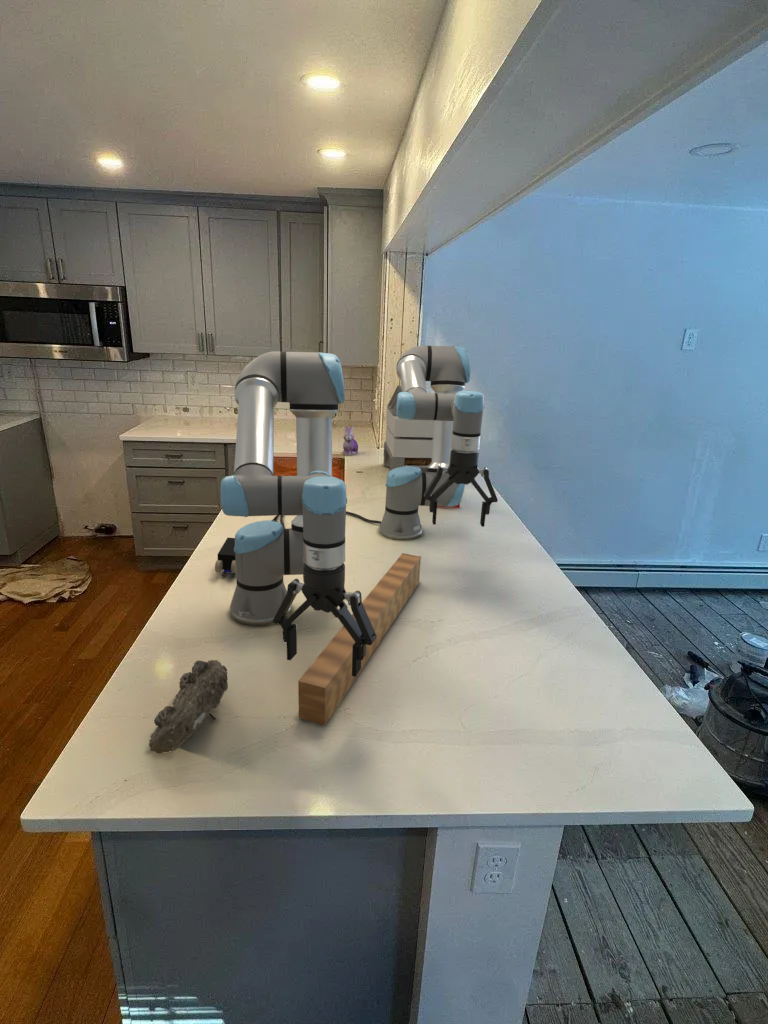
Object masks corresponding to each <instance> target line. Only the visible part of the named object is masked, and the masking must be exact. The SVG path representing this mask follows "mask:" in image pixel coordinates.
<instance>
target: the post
mask: <svg viewBox="0 0 768 1024" xmlns="http://www.w3.org/2000/svg"><path fill="white" fill-rule="evenodd" d="M421 560H422V556H421V555H415V554H409V553H405V552H402V553H401V554H400V556H398V558H397V559H396V560H395V562H394V563H393V564H392V565H391V566H390V568H388V570H387V571H386V573H385V574H384V575H383V576H382V577H381V578H380V580H379V581H378V582H377V583H376V585H375V586H374V587H373V589H372V590H371V591H370V592H369V594H368V595H367V596H366V597H365V598H364V599H363V600H362V604H363V606H364V608H365V611H366V613H367V615H368V617H369V620H370V622H371V624H372V626H373V629H374V631H375V633H376V636H377V637H376V639H375V640H374V642H373V643H372V645H367V644H366V655H365V657H364V659H363V660H361V670H360V671H359V673H358V674H357V676H356V677H354V676H352V651H353V644H354V643H355V641H354V640H353V638H352V637H351V635H350V634H349V633H348V631H347V630H346V629H345V627H344V626H343V625H342V627H341V628H340V629H339V630H338V631H337V633H336V634H335V636H333V637H332V638H331V640H330V641H329V642H328V644H327V645H326V646H325V647H324V649H323V650H322V651H321V652H320V654H318V656H317V657H316V659H314V661H313V662H312V663H311V665H310V666H309V667H308V668H307V670H305V672H304V673H303V674H302V676H301V677H299V680H297V682H298V683H297V686H298V687H297V690H298V691H297V692H298V693H297V694H298V697H297V698H298V702H297V703H298V718H299V719H301V720H305V721H307V722H312V723H315V724H319V725H322V726H326V724H327V723H328V721H329V720H330V718H331V717H332V715H333V714H334V713H335V711H336V709H337V707H338V706H339V705H340V703H341V701H342V700H343V699H344V697H345V696H346V694H347V693H348V691H349V689H351V687H352V685H353V684H354V682H355V681H356V679H357V678H358V676H359V674H360V673H361V671H362V670H363V669H364V667H365V665H366V664H367V662H368V661H369V659H371V656H372V655H373V653H374V652H375V651H376V649H377V647H378V645H379V644H380V643H381V641H382V640H383V638H384V636H385V635H386V633H387V632H388V631H389V629H390V628H391V626H392V624H393V623H394V621H395V620H396V619H397V617H398V615H399V614H400V612H401V611H402V609H403V608H404V606H405V605H406V603H408V600H409V599H410V597H411V596H412V594H413V593H414V591H415V589H417V587H418V585H419V583H420V575H421V574H420V573H421V562H422V561H421ZM351 615H352V616H353V617H354V615H353V613H351ZM354 619H355V617H354ZM355 620H356V619H355Z"/></svg>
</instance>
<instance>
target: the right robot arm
mask: <svg viewBox="0 0 768 1024" xmlns="http://www.w3.org/2000/svg"><path fill="white" fill-rule="evenodd" d="M471 368H472V366H471V359H470V354H469V351H468V350H467V349H466V348H465V347H461V346H455V345H451V346H450V345H423V344H422V345H417V346H413V347H411V348H409V349H408V350H406V351H405V352H403V353H402V354H401V356H400V357H399V358H398V360H397V362H396V367H395V370H396V376H397V377H398V379H399V380H400V384H401V385H400V386H401V387H402V392H400V393H398V395H397V417H398V418H400V419H408V420H434V421H433V443H432V462H431V464H430V465H428V466H426V472H424V471H422V469H421V468H420V467H419V466H407V465H404V467H398V468H395V469H392V470H391V471H390V470H389V471H388V473H387V475H386V482H385V487H386V488H385V489H386V490H385V504H384V505H385V507H384V508H385V509H384V513H383V515H382V519H381V520H375V519H369V518H366V517H364V516H362V515H360V514H357V513H355V512H350V511H348V510H346V515H350V516H352V517H355V518H358V519H360V520H361V521H364V522H367V523H371V524H379V526H378V533H379V534H380V535H381V536H382V537H385V538H387V539H389V540H395V541H410V540H415V539H418V538H420V537H421V536H422V535H423V525H422V524H421V518H420V515H419V507H428V510H429V513H432V518H431V522H432V525H434V526H435V525H437V515H438V514H437V513H438V507H437V506H443V507H442V508H446V507H454V506H457V505H459V503H460V504H461V501H462V499H463V496H464V493H465V492H464V491H465V486H467V485H469V484H472V487H474V489H476V491H477V492H478V494H479V495H480V496H481V497H482V499H483V501H482V502H481V503H482V504H481V509H480V519H479V524H480V527H481V528H484V527H485V523H486V516H488V515H490V512H491V505H492V504H493V503H497V502H498V501H499V499H498V497H497V494H496V491H495V490H494V487H493V485H492V484H493V483H492V482H491V479H490V471H489V469H488V468H487V467H485V466H484V467H483V468H479V467H478V465H479V455H480V454H479V452H478V451H479V450H480V445H481V433H482V425H483V415H484V408H485V395H484V393H482V392H479V391H474V390H464V389H465V387H466V384H468V383H469V382H470V381H471V373H472V372H471V370H472V369H471ZM427 382H430V389H431V390H432V391H433V392H429V390H428V385H427ZM478 475H480V476H481V477H482V478H483V480H484V482H485V485H486V487H487V489H488V493H489V494H490V497H489V496H488V494H487V493H486V492H485V491H484V490H483V488H482V487H481V486H480V484H479V482H478V481H477V479H475V478H476V477H477V476H478Z"/></svg>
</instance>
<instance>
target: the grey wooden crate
mask: <svg viewBox="0 0 768 1024" xmlns="http://www.w3.org/2000/svg"><path fill="white" fill-rule="evenodd" d="M400 392H402V387H401V385H399V384H398V385H397V386H396V388H395V390H394V392H393V394H392V395H391V398H390V400H389V402H388V404H387V405H386V413H385V414H386V415H385V423H386V428H385V438H384V442H383V466H384V467H388V468H389V472H390V471H391V470H392V469H395V468H398V467H404V466H413V467H427V466H428V465H430V464H431V462H432V443H433V421H434V420H408V419H400V418H398V417H397V395H398V393H400Z"/></svg>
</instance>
